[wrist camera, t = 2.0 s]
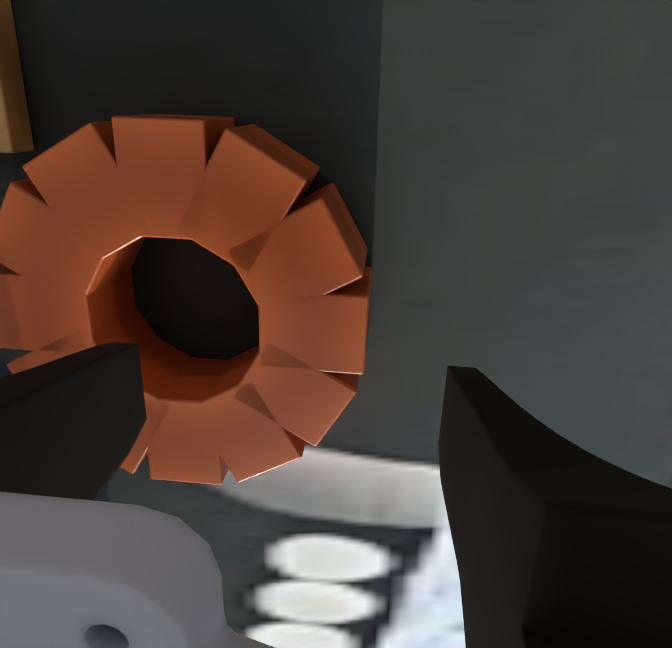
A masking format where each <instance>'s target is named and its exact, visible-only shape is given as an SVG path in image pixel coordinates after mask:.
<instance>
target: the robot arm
mask: <svg viewBox="0 0 672 648" xmlns="http://www.w3.org/2000/svg"><path fill="white" fill-rule="evenodd" d="M146 420H147V417H146V408H145V398H144V389H143V380H142V370H141V361H140V352H139V344H137V343H123V342H110V343H105V344H101V345H97V346H94V347H91V348H88V349H85V350H82V351H79V352H76V353H73V354H70V355H67V356H64V357H62V358H59V359H56V360H53V361H50V362H47V363H45V364H42V365H39V366H36V367H33V368H30V369H27V370H24V371H21V372H18V373H15V374H12V375H9V376H5V377H2V378H0V648H274V647H272V646H269V645H266V644H264V643H261V642H258V641H256V640H253V639H250V638H248V637H245V636H242V635H240V634H237V633H235V632H234V631H233V630H232V629H231V628H230V627H229V626H228V625H227V622H226V618H225V613H224V609H223V591H222V575H221V573H220V570H219V568H218V565H217V562H216V560H215V557H214V555H213V552H212V550H211V547H210V544H209V543H208V542H207V541H205V540H204V539H203V538H202V537H201V536H200V535H198V534H197V533H196V532H195V531H194V530H192V529H191V528H190V527H189V526H188V525H187V524H185V523H184V522H183V521H182V520H181V519H180V518H178V517H176V516H173V515H169V514H166V513H163V512H160V511H157V510H153V509H150V508H147V507H144V506H140V505H134V504H124V503H113V502H103V501H96V499H97V498H98V496H99V495H100V494H101V492H102V491H103V490H104V488H105V487H106V485H107V484H108V483H109V481H110V480H111V479H112V477H113V476H114V474H115V473H116V472H117V470H118V469H119V467H120V466H121V465H122V463H123V462H124V460H125V459H126V457H127V456H128V455H129V453H130V451H131V450H132V448H133V446H134V444H135V442H136V440H137V438H138V436H139V434H140V432H141V430H142V428H143V426H144V424H145V422H146ZM438 444H439V463H440V478H441V484H442V490H443V495H444V500H445V505H446V510H447V515H448V520H449V525H450V530H451V535H452V540H453V545H454V549H455V554H456V559H457V565H458V571H459V578H460V585H461V597H462V608H463V619H464V631H465V643H466V648H672V489H671V488H668V487H665V486H663V485H660V484H657V483H655V482H652V481H649V480H647V479H644V478H642V477H640V476H637V475H635V474H633V473H630V472H628V471H626V470H623V469H621V468H619V467H617V466H615V465H613V464H611V463H609V462H607V461H605V460H603V459H601V458H598V457H597V456H595V455H593V454H591V453H589V452H587V451H585V450H583V449H582V448H580V447H578V446H577V445H575V444H573V443H572V442H570V441H568V440H567V439H565V438H563V437H562V436H560V435H559V434H557V433H556V432H554V431H552V430H551V429H550V428H548V427H547V426H545V425H544V424H543V423H541V422H540V421H539V420H537V419H536V418H534V417H533V416H532V415H530V414H529V413H528V412H527V411H525V410H524V409H523V408H522V407H520V406H519V405H518V404H517V403H515V402H514V401H513V400H512V399H511V398H510V397H508V396H507V395H506V394H505V393H504V392H503V391H502V390H500V389H499V388H498V387H497V386H496V385H495V384H494V383H493V382H492V381H490V380H489V379H488V378H487V377H486V376H485V375H484V374H483V373H481V372H480V371H479V370H478V369H476V368H470V367H457V366H448V369H447V377H446V385H445V393H444V402H443V410H442V418H441V427H440V435H439V443H438Z"/></svg>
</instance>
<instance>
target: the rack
mask: <svg viewBox="0 0 672 648" xmlns="http://www.w3.org/2000/svg"><path fill="white" fill-rule="evenodd" d="M33 150H34V144H33V138H32V132H31V126H30V119H29V113H28V107H27V101H26V94H25V88H24V82H23V75H22V69H21V63H20V57H19V50H18V44H17V38H16V31H15V25H14V19H13V13H12V6H11V0H0V153H11V154H12V153H20V152H27V151H33Z"/></svg>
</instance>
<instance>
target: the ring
mask: <svg viewBox="0 0 672 648" xmlns="http://www.w3.org/2000/svg"><path fill="white" fill-rule="evenodd" d="M23 169H24V171H25V172H26V173H27V175H28V176H29V179H24V180H19V181H14V182H11V183H10V184H9V186H8V189H7V192H6V194H5V197H4V200H3V203H2V205H1V208H0V263H1V264H2V265H0V348H7V349H20V350H27V351H25V352H24V353H22V354H21V355H19V356H18V357H16V358H15V359H13V360H12V361H10V362H9V363H8V364H7V367H8V368H9V369H10V371H11V372H12V373H13V374H15V373H18V372H21V371H24V370H27V369H30V368H33V367H36V366H39V365H42V364H45V363H47V362H50V361H53V360H56V359H59V358H62V357H64V356H67V355H70V354H73V353H76V352H79V351H82V350H85V349H88V348H91V347H94V346H97V345H101V344H105V343H110V342H123V343H137V344H139V352H140V361H141V370H142V380H143V389H144V398H145V408H146V417H147V420H146V422H145V424H144V426H143V428H142V430H141V432H140V434H139V436H138V438H137V440H136V442H135V444H134V446H133V448H132V450H131V451H130V453H129V455H128V456H127V457H126V459H125V460H124V462H123V463H122V465H121V466H120V467H122V468H123V469H125V470H127V471H129V472H131V473H134V472H135V471H136V470H137V468H138V467H139V465H140V464H141V462H142V461H143V459H144V458H145V457H146V455H147V454H148V458H149V468H150V477H151V478H152V479H159V480H170V481H181V482H193V483H204V484H215V485H221V484H222V482H223V480H224V478H225V475H226V473H227V471H228V469H229V470H230V471H231V472H232V474H233V475H234V477H235V478H236V480H237V481H238V482H242V481H244V480H247V479H249V478H252V477H254V476H257V475H259V474H262V473H264V472H267V471H269V470H272V469H274V468H277V467H279V466H282V465H284V464H287V463H289V462H292V461H294V460H297V459H299V458H301V457H302V454H303V451H304V447H305V443H306V442H308V443H310V444H311V445H313V446H316V445H318V443H319V442H320V441H321V439H322V438H323V437H324V435H325V434H326V433H327V431H328V430H329V429H330V427H331V426H332V425H333V423H334V422H335V421H336V419H337V418H338V417H339V415H340V414H341V413H342V411H343V410H344V409H345V407H346V406H347V405H348V403H349V402H350V400H351V399H352V398H353V396H354V395H355V394H356V392H357V385H358V377H359V374H363V373H364V369H365V359H366V349H367V340H368V327H369V311H370V294H371V278H372V267H368V266H365V261H366V255H367V246H366V244H365V242H364V240H363V238H362V236H361V234H360V233H359V231H358V229H357V227H356V225H355V223H354V221H353V219H352V217H351V215H350V213H349V211H348V209H347V207H346V205H345V203H344V202H343V200H342V198H341V196H340V194H339V192H338V190H337V188H336V186H335V184H334V183H330V184H328V185H326V186H324V187H322V188H320V189H318V190H317V191H315V192H313V193H311V194H309V195H307V196H305V197H304V198H303V196H304V195H305V193H306V191H307V190H308V188H309V186H310V185H311V183H312V181H313V180H314V178H315V176H316V175H317V173H318V171H319V166H318V165H316V164H315V163H313V162H311V161H310V160H308V159H307V158H305V157H304V156H302V155H301V154H299V153H298V152H296V151H295V150H293V149H292V148H290V147H289V146H287V145H286V144H284V143H283V142H281V141H279V140H278V139H276V138H275V137H273V136H272V135H270V134H269V133H267V132H266V131H264V130H263V129H261V128H260V127H258V126H257V125H255V124H250V125H244V126H237V127H235V119H234V117H224V116H199V115H174V114H146V115H125V116H113V117H112V121H104V122H90V123H88V124H86V125H85V126H83V127H82V128H80V129H79V130H77V131H75V132H74V133H72V134H71V135H69V136H68V137H66V138H65V139H63V140H61V141H60V142H58V143H57V144H55V145H54V146H52V147H51V148H49V149H48V150H46V151H44V152H43V153H41V154H40V155H38V156H37V157H35V158H34V159H32V160H30V161H29V162H27V163H26V164H24V165H23ZM146 237H157V238H175V239H192V240H193V241H195V242H196V243H198V244H200V245H201V246H203V247H204V248H206V249H208V250H209V251H211V252H213V253H214V254H216V255H217V256H219V257H221V258H222V259H224V260H226V261H227V262H229V263H230V264H232V265H234V266H235V268H236V270H237V271H238V273H239V275H240V276H241V278H242V280H243V281H244V283H245V285H246V286H247V288H248V290H249V291H250V293H251V295H252V296H253V298H254V300H255V301H256V303H257V305H258V310H259V345H258V346H255V347H253V348H251V349H249V350H247V351H245V352H243V353H241V354H238V355H236V356H234V357H232V358H230V359H228V360H224V359H210V358H196V357H190V356H189V355H187V354H185V353H184V352H182V351H180V350H178V349H177V348H175V347H173V346H172V345H170V344H168V343H167V342H165V341H163V340H161V339H160V338H158V337H157V336H156V335H155V333H154V332H153V330H152V329H151V327H150V326H149V324H148V323H147V321H146V320H145V318H144V317H143V315H142V314H141V312H140V311H139V309H138V308H137V306H136V304H135V294H134V285H133V275H132V265H133V263H134V261H135V259H136V257H137V255H138V253H139V251H140V249H141V247H142V245H143V243H144V241H145V239H146Z"/></svg>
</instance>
